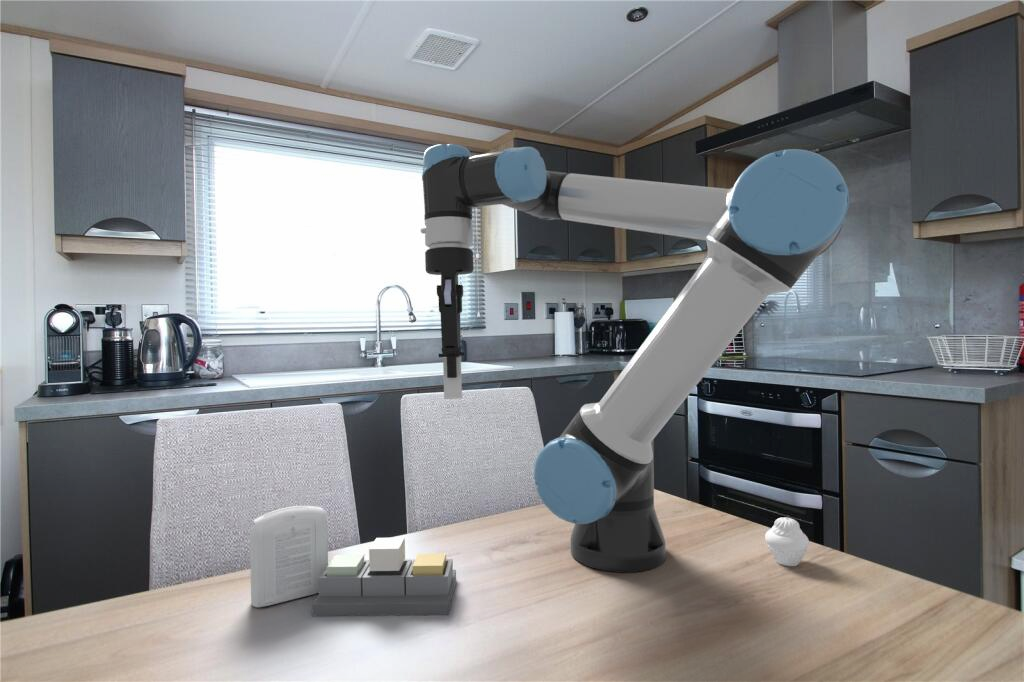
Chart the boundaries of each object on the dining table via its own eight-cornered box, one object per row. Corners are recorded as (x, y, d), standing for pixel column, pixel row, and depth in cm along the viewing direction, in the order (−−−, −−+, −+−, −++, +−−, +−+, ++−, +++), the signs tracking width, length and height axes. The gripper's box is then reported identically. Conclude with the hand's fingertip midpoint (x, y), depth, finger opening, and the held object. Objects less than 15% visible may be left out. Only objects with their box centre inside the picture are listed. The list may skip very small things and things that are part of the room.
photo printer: (324, 580, 85) (322, 497, 84) (332, 591, 81) (330, 505, 81) (248, 599, 79) (245, 511, 79) (254, 612, 75) (251, 519, 75)
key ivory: (405, 558, 81) (404, 537, 81) (399, 570, 77) (398, 548, 77) (376, 558, 81) (376, 537, 81) (369, 571, 77) (369, 549, 77)
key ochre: (446, 574, 81) (446, 553, 81) (442, 587, 77) (442, 565, 77) (418, 574, 81) (417, 553, 81) (413, 587, 77) (412, 565, 77)
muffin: (795, 553, 91) (795, 510, 91) (817, 570, 85) (817, 523, 85) (757, 554, 91) (757, 511, 91) (776, 571, 85) (776, 524, 85)
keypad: (456, 579, 84) (455, 552, 84) (447, 614, 74) (447, 584, 74) (336, 581, 84) (335, 554, 84) (312, 616, 74) (311, 585, 74)
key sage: (364, 575, 81) (364, 554, 81) (356, 588, 77) (356, 566, 77) (336, 575, 81) (335, 554, 81) (327, 588, 77) (326, 566, 77)
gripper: (429, 254, 96) (433, 393, 97) (419, 242, 83) (424, 404, 84) (474, 253, 97) (477, 392, 97) (471, 241, 84) (475, 403, 84)
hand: (453, 397), depth 91 cm, fingers closed
